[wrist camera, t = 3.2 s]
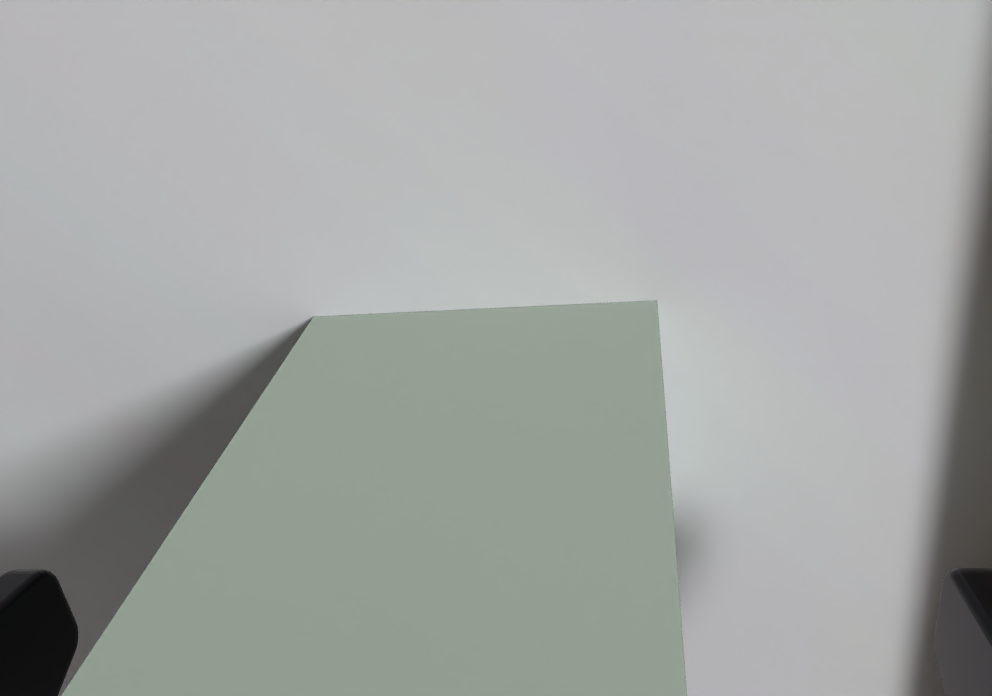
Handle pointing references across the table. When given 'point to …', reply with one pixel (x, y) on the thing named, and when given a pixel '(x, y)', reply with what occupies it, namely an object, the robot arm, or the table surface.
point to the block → (426, 521)
